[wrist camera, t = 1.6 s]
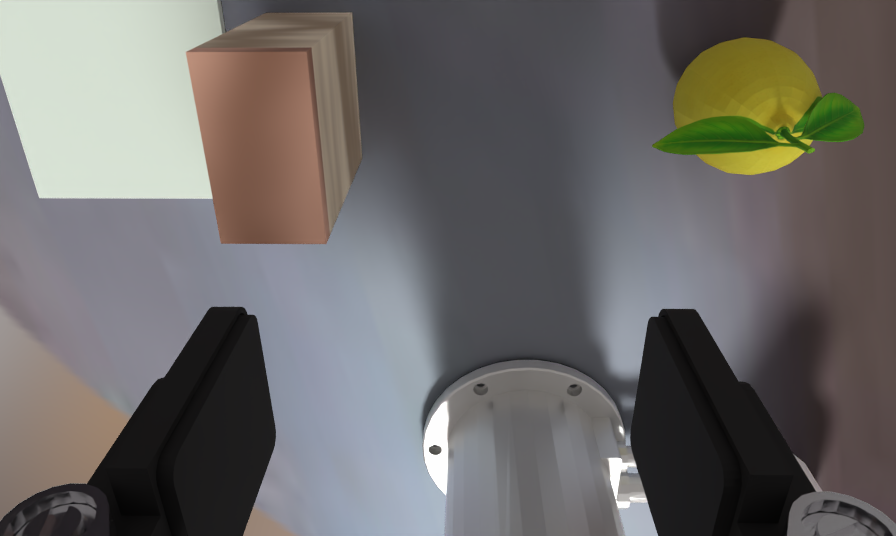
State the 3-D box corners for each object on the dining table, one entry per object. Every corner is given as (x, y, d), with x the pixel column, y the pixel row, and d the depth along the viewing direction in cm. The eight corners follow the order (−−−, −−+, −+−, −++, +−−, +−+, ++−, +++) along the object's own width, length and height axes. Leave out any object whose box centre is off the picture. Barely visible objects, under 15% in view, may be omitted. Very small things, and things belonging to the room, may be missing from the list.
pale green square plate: (215, -35, 30) (211, -34, 29) (251, 194, 35) (248, 198, 34) (-27, -34, 30) (-34, -33, 30) (44, 194, 35) (39, 198, 35)
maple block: (352, 12, 31) (306, 51, 22) (362, 158, 34) (326, 243, 25) (266, 12, 31) (185, 52, 22) (284, 158, 34) (221, 243, 25)
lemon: (616, 103, 32) (674, 174, 23) (699, -7, 30) (798, 25, 21) (720, 173, 34) (811, 264, 25) (806, 74, 31) (941, 136, 23)
